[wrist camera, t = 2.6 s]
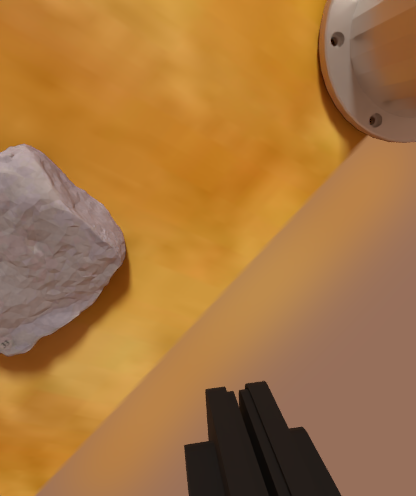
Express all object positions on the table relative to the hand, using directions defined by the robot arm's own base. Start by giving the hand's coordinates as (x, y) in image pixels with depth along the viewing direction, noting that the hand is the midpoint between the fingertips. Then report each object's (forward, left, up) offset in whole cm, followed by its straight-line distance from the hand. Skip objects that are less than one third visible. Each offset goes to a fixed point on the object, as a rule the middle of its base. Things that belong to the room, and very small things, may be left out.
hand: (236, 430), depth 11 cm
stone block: (+10, -1, -18) cm, 20 cm away
